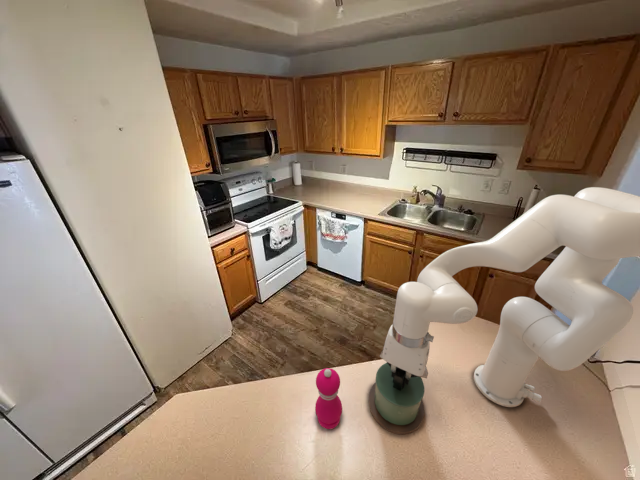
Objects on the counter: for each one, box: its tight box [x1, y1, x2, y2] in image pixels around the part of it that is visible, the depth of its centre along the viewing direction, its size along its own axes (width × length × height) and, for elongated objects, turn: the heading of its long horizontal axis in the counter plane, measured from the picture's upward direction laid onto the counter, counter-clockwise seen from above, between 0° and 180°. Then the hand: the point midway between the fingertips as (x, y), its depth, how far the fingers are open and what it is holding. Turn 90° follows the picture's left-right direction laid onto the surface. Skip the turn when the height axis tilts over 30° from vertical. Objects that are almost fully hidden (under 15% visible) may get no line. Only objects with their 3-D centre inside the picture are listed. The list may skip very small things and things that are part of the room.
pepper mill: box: [314, 367, 343, 430], centre depth 66 cm, size 7×7×20 cm
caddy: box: [374, 362, 425, 425], centre depth 69 cm, size 12×12×15 cm
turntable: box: [368, 381, 425, 435], centre depth 73 cm, size 15×15×1 cm
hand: (399, 380), depth 68 cm, fingers closed
